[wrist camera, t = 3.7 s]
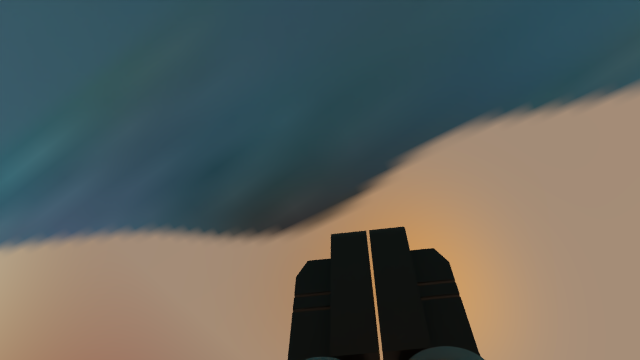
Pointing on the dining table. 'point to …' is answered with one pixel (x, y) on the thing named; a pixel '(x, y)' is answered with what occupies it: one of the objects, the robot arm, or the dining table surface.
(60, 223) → the dining table surface
